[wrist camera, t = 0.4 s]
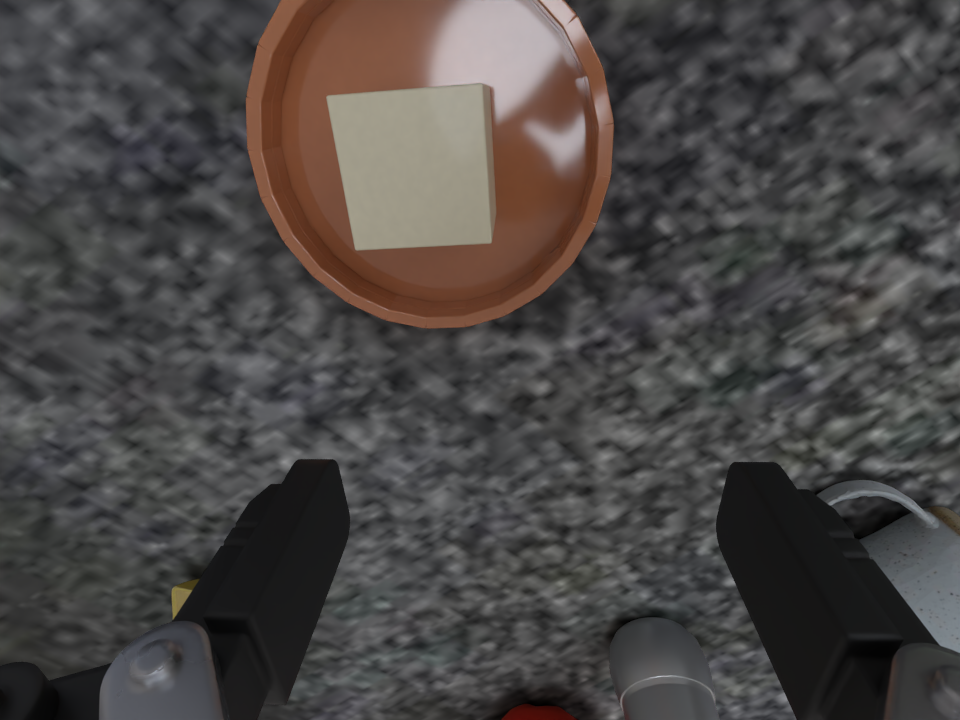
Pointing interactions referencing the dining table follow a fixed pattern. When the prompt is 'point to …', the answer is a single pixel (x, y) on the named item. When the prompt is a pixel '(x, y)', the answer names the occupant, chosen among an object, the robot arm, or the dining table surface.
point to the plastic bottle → (661, 672)
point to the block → (416, 165)
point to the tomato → (537, 713)
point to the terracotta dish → (515, 131)
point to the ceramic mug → (916, 557)
